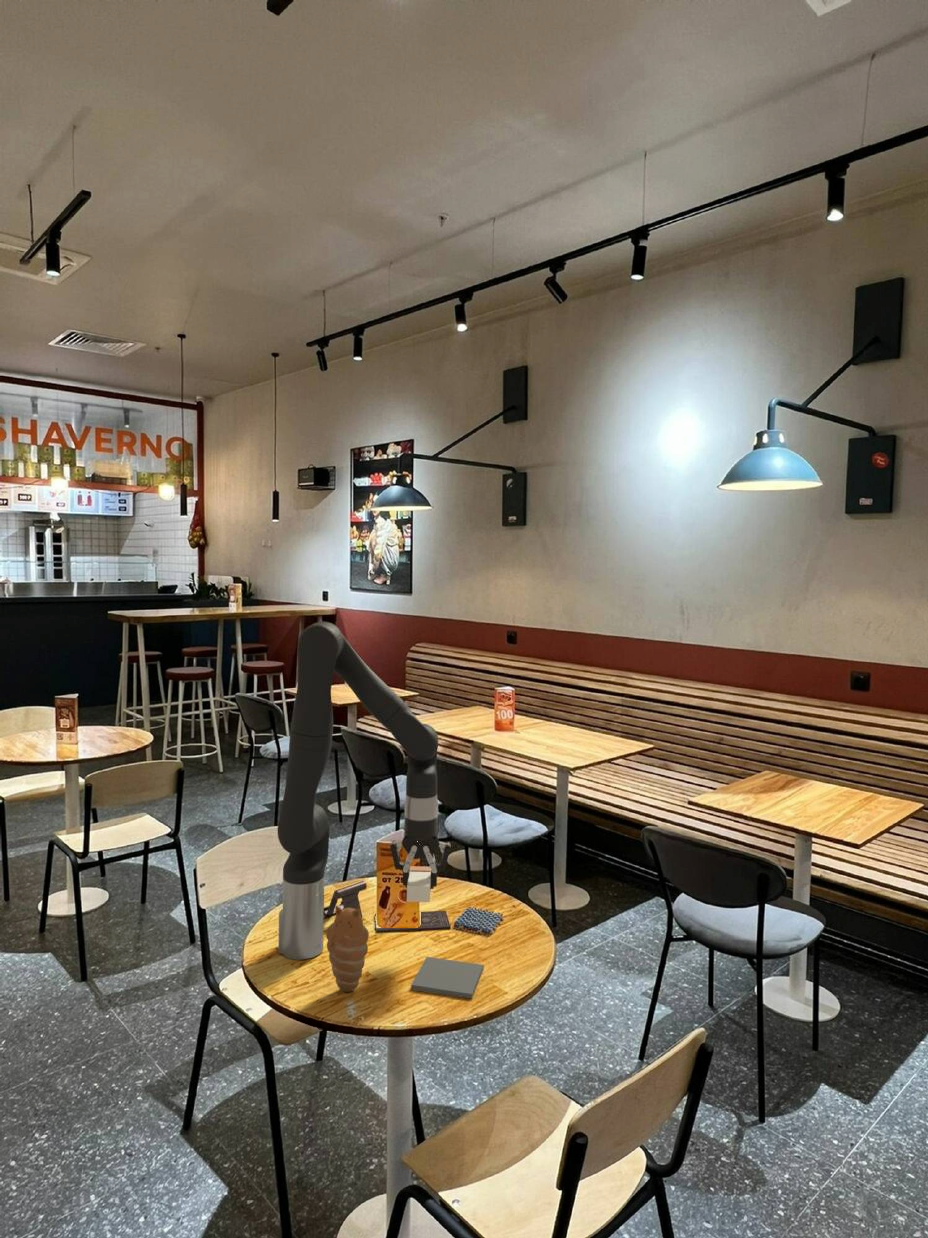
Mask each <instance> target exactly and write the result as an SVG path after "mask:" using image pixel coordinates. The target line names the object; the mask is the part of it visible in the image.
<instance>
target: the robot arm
mask: <svg viewBox="0 0 928 1238" xmlns="http://www.w3.org/2000/svg"><path fill="white" fill-rule="evenodd" d="M297 641H298V642H297V689H296V694H295V699H294V703H293V704H294V705H293V711H292V716H291V717H292V718H291V722H290V730H289V731H290V732H289V743H288V755H287V756H288V758H287V768H286V774H285V775H286V777H285V787H284V794H283V800H282V804H281V809H280V813H279V817H278V822H277V838H278V842H279V844H280V846H281V847H282V849H284V850H285V851H286V852H287V853H289V855H288V857H287V859H286V861H285V863H284V864H283V867H282V909H281V910H279V912H278V946H277V947H278V951H277V952H278V954H281V955H283V956H285V957H286V958H288V959H291V960H299V961H300V960H301V961H302V960H308V959H312V958H315V957H317V956H319V955H320V954H321V953H322V952H323V951H324V928H325V927H324V926H325V925H324V923H325V921H324V920H325V919H324V918H325V917H324V907H325V869H326V867H327V863H328V859H329V848H330V847H329V845H330V820H329V816H328V815H327V812H326V811H325V809H323V807H322V806H320V805H319V804H317V803H316V796H317V791H318V789H319V788H318V787H319V785H320V782H321V780H322V777H323V775H324V773H325V771H326V770H325V769H326V767H327V765H328V762H329V759H330V756H331V755H330V754H331V750H332V744H333V734H334V713H333V712H334V711H333V703H332V683H333V677H334V673H336V674H337V675H338V676H339V677H340V678H341V679H342V680H343V681H344V682H345V684H346V685H347V686H348V687H349V688H350V689H351V690H352V692H353V693H354V695H355V696H356V697H357V699H358V701H359V702H360V703H361V704H362V705H363V707H364V708H365V710H367V711H368V712H369V713H370V714H371V715H372V716H373V717H374V718H375V720H377V722H379V723H380V725H382V726H383V727H384V728H385V729H387V731H388V732H389V733H390V734H391V735H392V736H393V738H394V739H395V740H396V741H397V743H398V744H399V745H400V746H401V747H402V749H403V750H404V751H405V752H406V753H407V773H406V781H405V788H406V789H405V798H404V799H405V801H404V823H403V824H404V826H403V828H404V830H403V831H404V834H403V838H402V840H397V841H396V839H395V840H394V839H393V840H392V841H391V844H390V853H391V857H392V860H393V866H394V869H395V870H400V871H401V872H402V886H405V889H407V884H408V878H409V875H410V868H411V866H412V865H411V864H412V862H413V860H419V859H422V860H427V863H428V866H429V867H430V868H431V890H434V888H435V887H437V884H438V872H444V871H445V870H446V866H447V863H448V859H449V856H450V855H449V854H450V852H451V842H449V841H446V842H444V841H440V839H439V837H438V835H439V834H438V831H439V830H438V829H439V827H438V823H439V821H438V820H439V800H438V771H437V760H438V748H439V736H438V733H437V731H436V729H435V728H434V727H432V725H429V724H427V723H422V721H421V720H419V719H418V718H417V717H416V716H415V715H414V714H413V712H412V709H411V708H410V707H409V705H408V704H407V703H406V702H404V700H403V699H402V698H401V697H400V696H399V695H398V694H397V693H396V692H395V691H394V690H393V689H392V688H391V687H390V686H388V685H387V684H386V682H384V681H383V679H381V678H380V677H379V676H378V675H377V674H376V673H375V672H374V671H373V670H372V669H371V668H370V667H369V666H368V665H367V664H366V663H365V661H364V660H363V659H362V658H361V657H360V656H359V655H358V653H357V652H356V650H354V648H353V646H351V644H350V643H349V641H348V639H346V637H345V635H344V634H343V633H342V632H341V629H340V628H338V626H336V625H335V624H334V623H332V622H328V621H317V622H314V623H313V624H311V625H309V626H307V627H306V628H305V629H304V630H302V632H301V633H300V635H299V638H298V640H297ZM417 841H418V842H417ZM419 844H420V845H419ZM401 847H403V848H404V850H405V851H406V853H407V857H406V859H405V861H404V862H402V861H401V855H400V853H399V852H401V849H402V848H401ZM438 848H439V849H440V852H441V853H442V855H441V858H440V859H441V860H440V862H439V863H437V860H436V858H435V854H434V853H435V852H436V850H438Z"/></svg>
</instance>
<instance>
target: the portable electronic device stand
mask: <svg viewBox="0 0 928 1238" xmlns="http://www.w3.org/2000/svg"><path fill="white" fill-rule="evenodd" d="M367 887H368V886H367V882H366V881H365V880H362V881H358V882H356V883H353V884H351V885H348V886H344V887H342V888H339V889H336V890H334V891H333V894H332V897H331V900H330V903H329V905H326V906H324V916H325V917H324V918H327V917H328V916H329V917H330V916H333V915H336V910H335V909H336V906H338V907H340V908H341V909H345V908H354V909H358V908H360V909H361V903H360V900H359V899H360V898H359V893H360V892H361V891H366V890H367ZM340 899H341V901H340V904H338V905H337V903H338V900H340ZM361 910H362V909H361ZM360 915H361V917H362V918H363V912H362V911H361V912H360ZM329 917H328V918H329Z"/></svg>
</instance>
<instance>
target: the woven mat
mask: <svg viewBox="0 0 928 1238" xmlns="http://www.w3.org/2000/svg"><path fill="white" fill-rule="evenodd" d="M504 920H505V918H504V917H503V913H501V912H495V911H493V910H492V911H489V910H488V909H486V910H483V909H482V908H480V909H477V907H474V908H473V907H472V908H471V906H468V907H467V908H465V909H464V911H462V913H461V914H460V915H458V917H457V918H455V921H453V928H452V929H456V930H459V931H464V932H470V933H474V934H478V935H483V936H487V937H492V936H493V934H494V933H495V932H496V930H497V928H498V926H499V925H500V924H502V923H503V921H504ZM501 922H502V923H501Z"/></svg>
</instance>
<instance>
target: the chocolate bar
mask: <svg viewBox="0 0 928 1238" xmlns="http://www.w3.org/2000/svg"><path fill="white" fill-rule="evenodd" d="M420 912H421V925H420V927H418V928H381V927H379V926H378V925H377V920H376V914H377V913H375V914H374V920H375V921H376V922H375V930H376V931H375V932H376V934H378V933H379V934H380V933H381V934H382V933H396V932H399V933H400V932H417V931H418V932H419V931H420V932H421V931H437V930H441V931H442V930H451V923H450V919H449V917H448V914H447V913H448V912H446V910H433V911H432V910H430V911H420Z"/></svg>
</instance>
